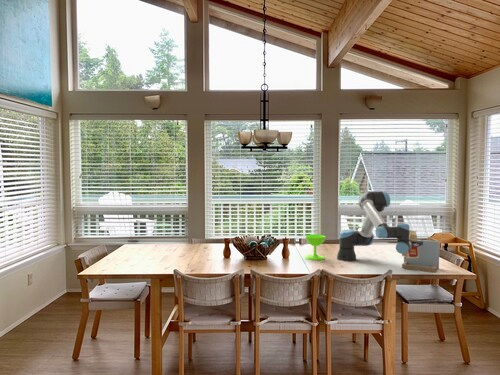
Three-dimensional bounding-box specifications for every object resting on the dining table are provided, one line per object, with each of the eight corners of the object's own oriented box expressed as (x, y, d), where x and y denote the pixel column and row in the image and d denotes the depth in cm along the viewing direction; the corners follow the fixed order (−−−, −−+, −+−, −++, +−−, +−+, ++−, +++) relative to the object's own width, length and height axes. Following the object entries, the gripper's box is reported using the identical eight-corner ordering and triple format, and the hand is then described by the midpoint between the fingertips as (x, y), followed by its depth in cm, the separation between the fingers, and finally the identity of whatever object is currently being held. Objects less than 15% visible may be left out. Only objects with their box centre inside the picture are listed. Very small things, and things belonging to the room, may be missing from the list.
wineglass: (311, 260, 306) (311, 238, 306) (301, 256, 321) (301, 235, 321) (328, 259, 312) (329, 237, 312) (318, 255, 327) (318, 234, 327)
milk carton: (408, 258, 276) (409, 230, 275) (401, 255, 285) (401, 228, 284) (420, 257, 277) (420, 230, 277) (412, 255, 286) (413, 228, 286)
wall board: (400, 268, 285) (401, 241, 284) (404, 264, 297) (404, 238, 297) (436, 272, 272) (437, 244, 271) (438, 268, 285) (439, 241, 284)
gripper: (389, 248, 272) (396, 244, 290) (423, 252, 260) (428, 247, 278) (389, 238, 271) (396, 234, 290) (423, 241, 259) (428, 237, 278)
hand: (412, 240), depth 284 cm, fingers closed on milk carton, 9 cm apart
